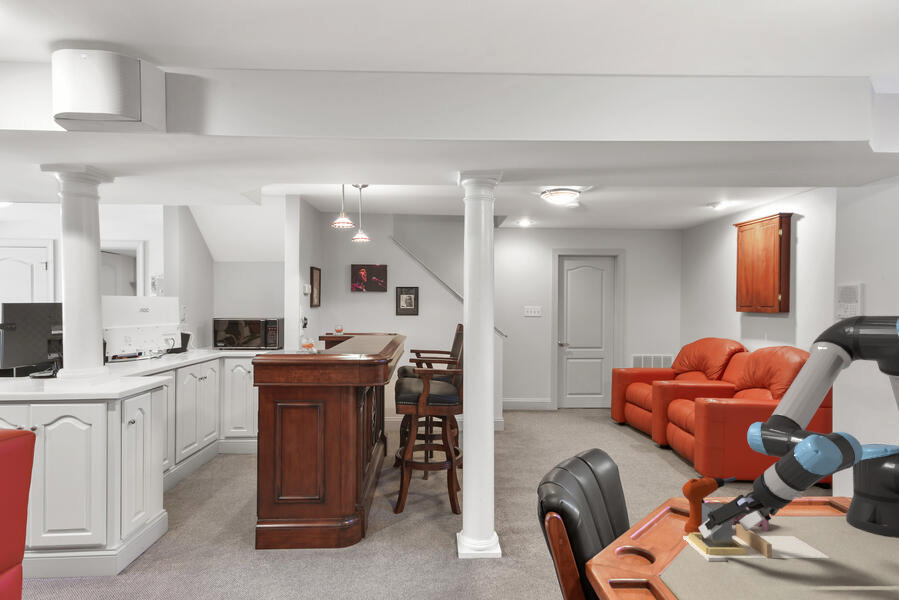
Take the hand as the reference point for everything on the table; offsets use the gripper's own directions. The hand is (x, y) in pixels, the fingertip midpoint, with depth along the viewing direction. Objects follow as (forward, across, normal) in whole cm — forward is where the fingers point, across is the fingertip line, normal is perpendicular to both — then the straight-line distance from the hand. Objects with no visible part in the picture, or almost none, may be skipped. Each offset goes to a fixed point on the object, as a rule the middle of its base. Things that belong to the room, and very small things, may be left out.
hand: (723, 529), depth 132 cm
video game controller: (+12, +21, +3) cm, 24 cm away
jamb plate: (+4, +9, -5) cm, 11 cm away
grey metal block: (+5, 0, -2) cm, 6 cm away
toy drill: (+13, +10, +5) cm, 17 cm away
